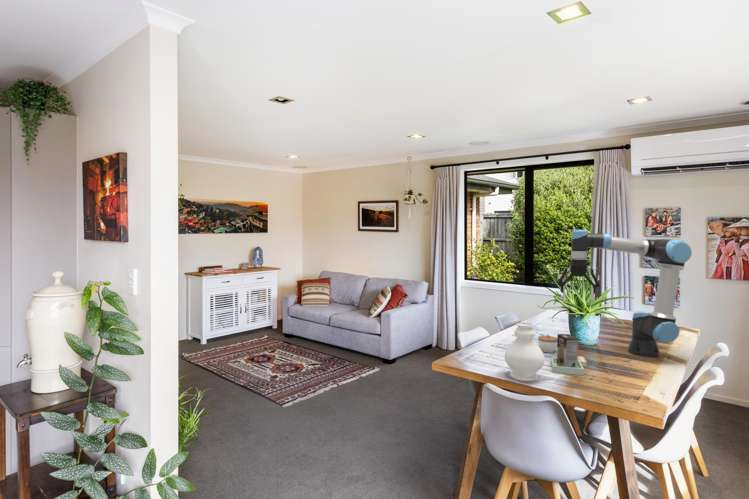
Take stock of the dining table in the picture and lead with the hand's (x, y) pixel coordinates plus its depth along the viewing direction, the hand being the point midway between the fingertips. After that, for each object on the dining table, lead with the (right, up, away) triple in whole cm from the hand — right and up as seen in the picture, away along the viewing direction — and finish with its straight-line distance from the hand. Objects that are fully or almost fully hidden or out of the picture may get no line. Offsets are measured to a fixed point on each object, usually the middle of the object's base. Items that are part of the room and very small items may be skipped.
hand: (577, 299), depth 231 cm
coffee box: (-12, -33, -13) cm, 38 cm away
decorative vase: (-37, -34, -24) cm, 56 cm away
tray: (-12, -33, -13) cm, 38 cm away
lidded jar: (-9, -32, +18) cm, 38 cm away
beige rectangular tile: (-2, -33, -2) cm, 33 cm away
